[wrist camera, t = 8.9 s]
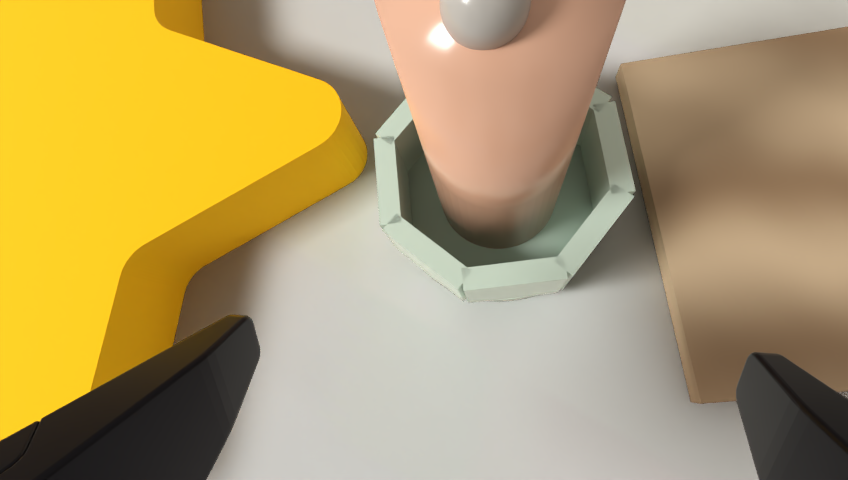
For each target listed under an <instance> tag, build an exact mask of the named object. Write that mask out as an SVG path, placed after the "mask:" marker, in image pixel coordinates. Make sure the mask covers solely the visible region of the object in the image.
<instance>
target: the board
mask: <svg viewBox="0 0 848 480" xmlns="http://www.w3.org/2000/svg"><path fill="white" fill-rule="evenodd" d="M616 81H617V85H618V90H619V94H620V98H621V103H622V107H623V111H624V116H625V120H626V124H627V129H628V133H629V137H630V142H631V146H632V150H633V155H634V159H635V163H636V167H637V172H638V176H639V180H640V185H641V189H642V193H643V198H644V202H645V206H646V211H647V215H648V219H649V224H650V228H651V232H652V237H653V241H654V245H655V250H656V254H657V258H658V263H659V267H660V271H661V275H662V280H663V284H664V288H665V293H666V297H667V301H668V306H669V310H670V314H671V319H672V323H673V327H674V332H675V336H676V340H677V345H678V349H679V353H680V358H681V362H682V366H683V371H684V375H685V379H686V383H687V388H688V392H689V396H690V401H691V402H693V403H700V404H704V403H716V402H728V401H737V400H736V387H737V384H738V381H739V379H740V376H741V373H742V370H743V368H744V365H745V362H746V360H747V358H748V356H749V355H750V354H751V353H753V352H765V353H777V354H780V355H782V356H784V357H785V358H787V359H788V360H790V361H791V362H793V363H794V364H796V365H797V366H799V367H800V368H802V369H803V370H805V371H806V372H808V373H809V374H811V375H812V376H814V377H815V378H817V379H818V380H820V381H821V382H823V383H824V384H826V385H827V386H829V387H830V388H832V389H833V390H835V391H836V392H844V391H848V27H843V28H837V29H831V30H825V31H819V32H813V33H806V34H800V35H794V36H788V37H782V38H776V39H770V40H764V41H757V42H751V43H745V44H739V45H733V46H727V47H721V48H715V49H709V50H702V51H696V52H690V53H684V54H678V55H672V56H666V57H660V58H653V59H647V60H641V61H635V62H629V63H623V64H621V65H620V67H619V70H618V72H617V75H616Z"/></svg>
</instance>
